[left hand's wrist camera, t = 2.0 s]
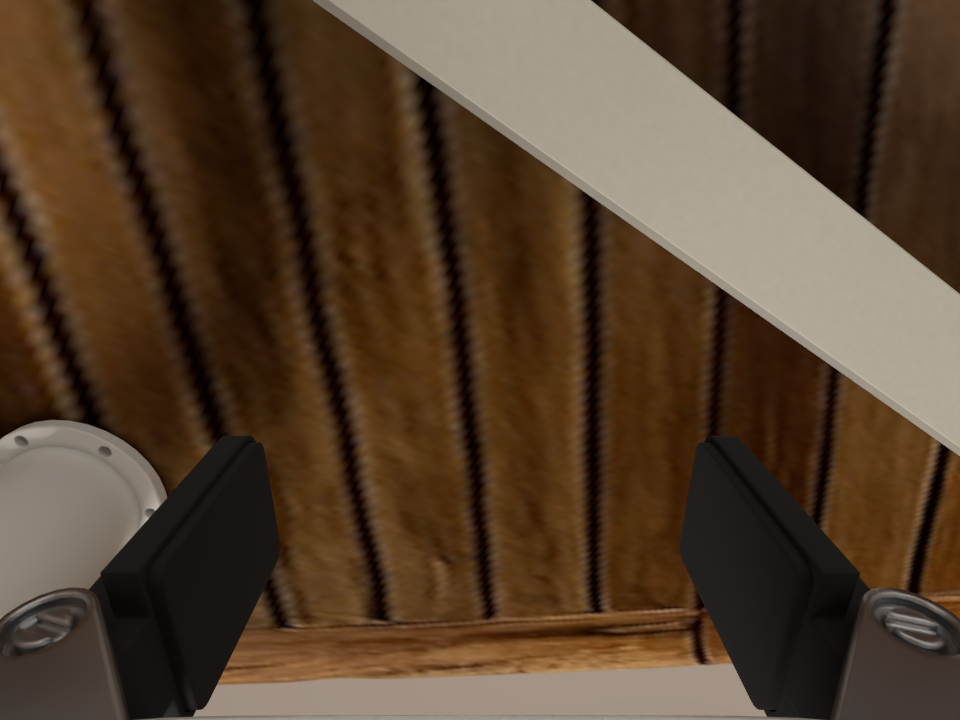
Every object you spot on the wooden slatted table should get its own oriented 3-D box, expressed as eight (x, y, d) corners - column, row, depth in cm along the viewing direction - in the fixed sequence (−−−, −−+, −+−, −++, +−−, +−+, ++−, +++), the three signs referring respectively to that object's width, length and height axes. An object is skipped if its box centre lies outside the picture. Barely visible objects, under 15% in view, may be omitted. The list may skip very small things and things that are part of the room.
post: (51, -184, 25) (-129, -324, 18) (88, -325, 24) (-93, -545, 16) (1052, 521, 40) (1182, 605, 33) (1120, 467, 39) (1273, 543, 31)
